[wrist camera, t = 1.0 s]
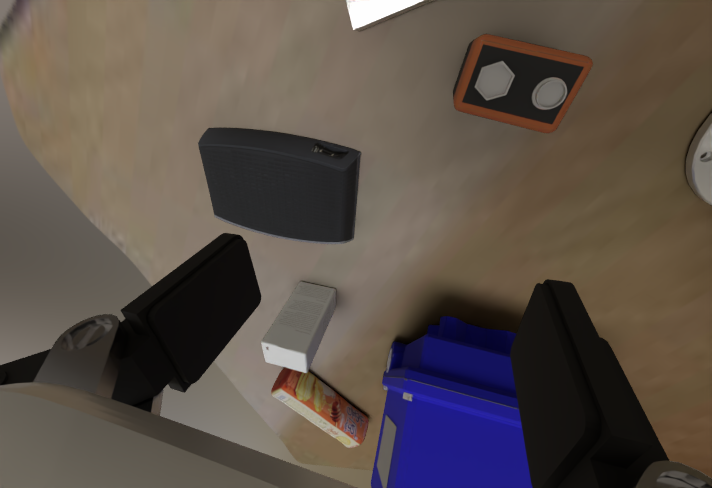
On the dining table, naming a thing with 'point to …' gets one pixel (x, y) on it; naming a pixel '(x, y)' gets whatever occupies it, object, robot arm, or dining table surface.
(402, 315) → the dining table surface
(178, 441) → the robot arm
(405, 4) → the plate
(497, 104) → the battery
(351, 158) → the external hard drive
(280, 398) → the snack package
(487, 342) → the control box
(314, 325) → the skincare box
